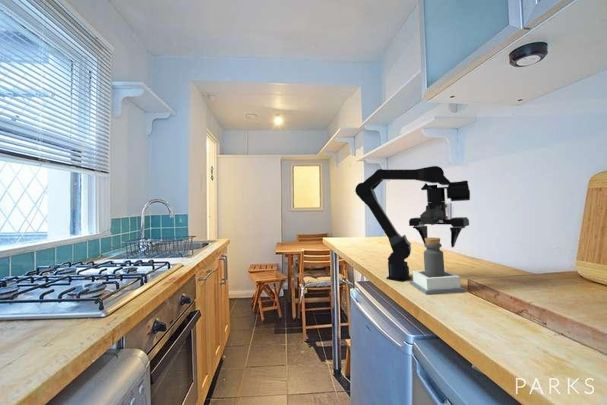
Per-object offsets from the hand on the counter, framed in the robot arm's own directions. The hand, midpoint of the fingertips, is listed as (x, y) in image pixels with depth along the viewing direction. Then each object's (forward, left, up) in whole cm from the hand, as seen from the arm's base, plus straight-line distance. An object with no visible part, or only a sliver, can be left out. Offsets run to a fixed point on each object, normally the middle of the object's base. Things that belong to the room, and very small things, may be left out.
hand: (438, 246), depth 101 cm
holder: (+2, -9, -12) cm, 15 cm away
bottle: (+2, -9, -11) cm, 14 cm away
